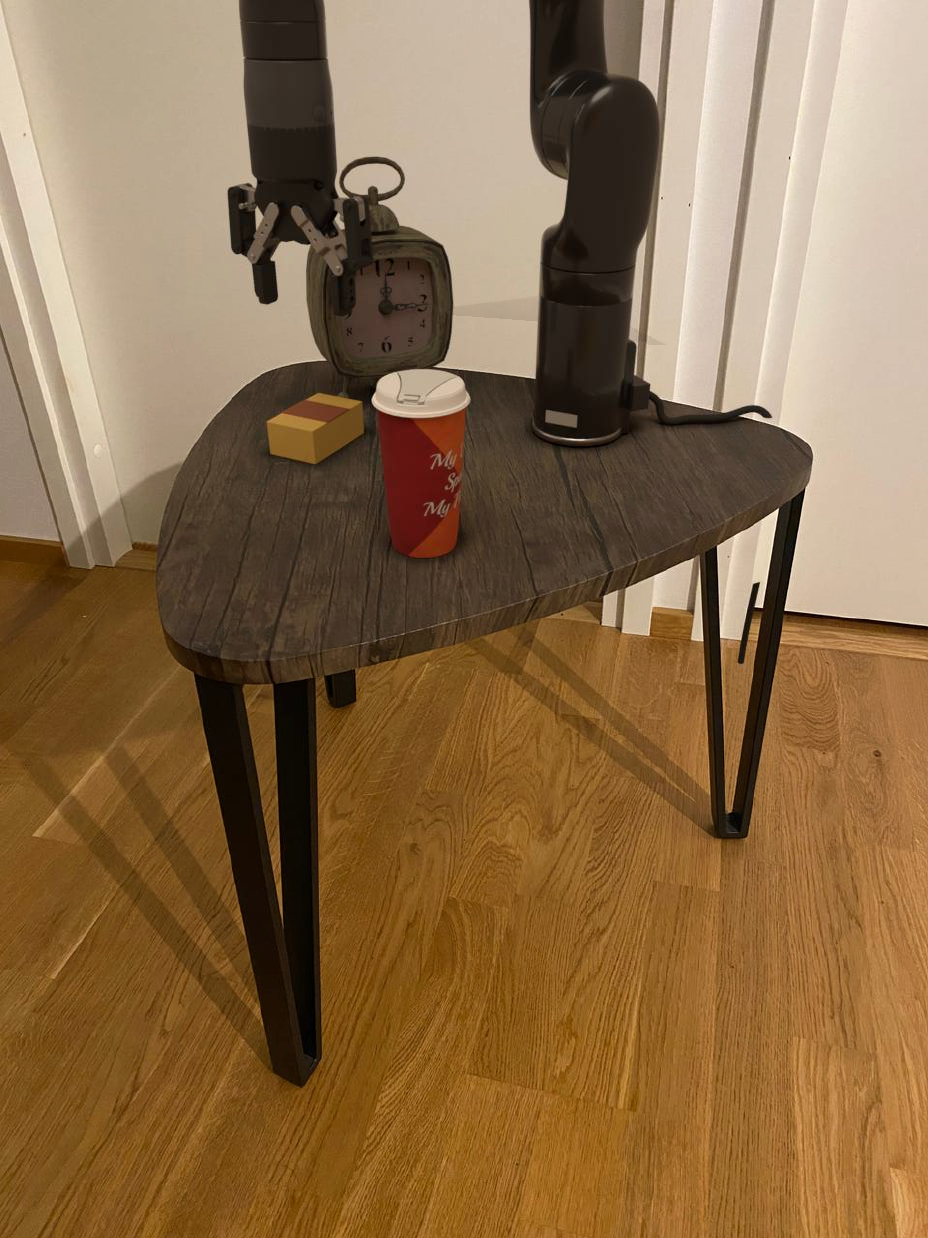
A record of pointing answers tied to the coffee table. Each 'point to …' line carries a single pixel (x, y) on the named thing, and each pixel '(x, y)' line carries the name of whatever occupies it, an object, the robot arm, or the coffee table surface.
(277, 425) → the tea packet
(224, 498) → the coffee table surface
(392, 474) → the paper cup
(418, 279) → the tabletop clock
